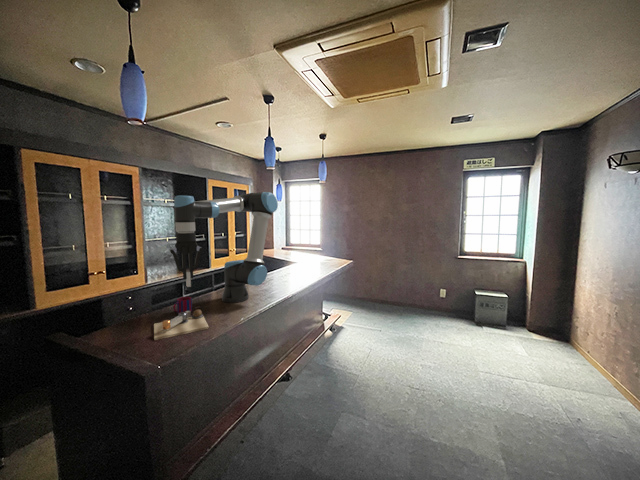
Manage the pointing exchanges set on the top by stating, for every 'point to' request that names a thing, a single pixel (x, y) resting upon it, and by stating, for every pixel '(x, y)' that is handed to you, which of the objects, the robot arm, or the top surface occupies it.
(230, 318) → the top surface
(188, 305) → the mug
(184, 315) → the lever
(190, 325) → the press base
